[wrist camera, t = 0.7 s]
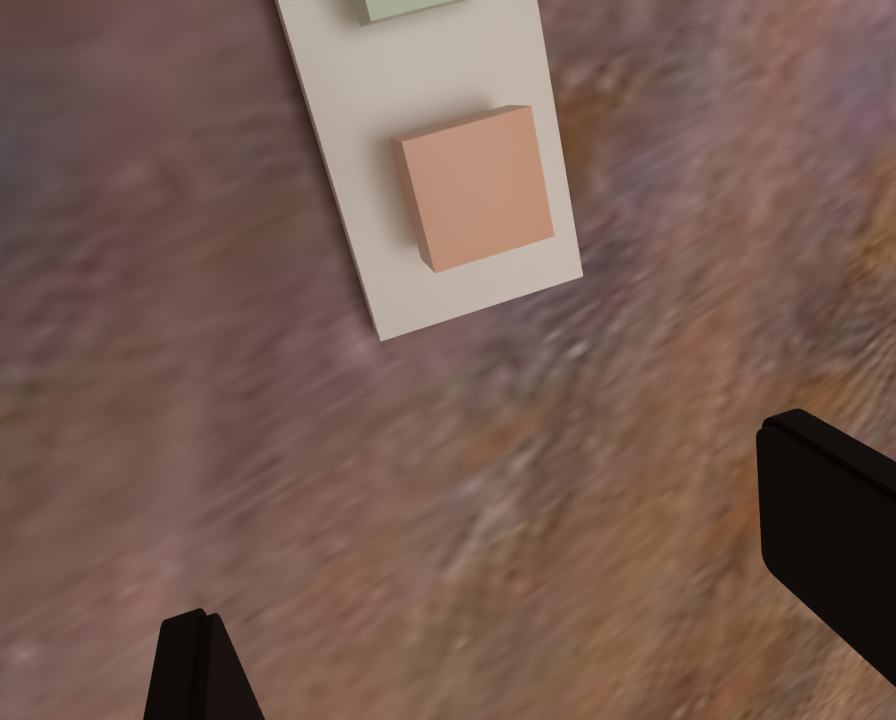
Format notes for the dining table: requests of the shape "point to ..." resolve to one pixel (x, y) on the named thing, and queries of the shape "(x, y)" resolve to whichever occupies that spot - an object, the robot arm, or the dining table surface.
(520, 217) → the terracotta key
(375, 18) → the sage key
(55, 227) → the dining table surface
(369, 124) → the keypad base
